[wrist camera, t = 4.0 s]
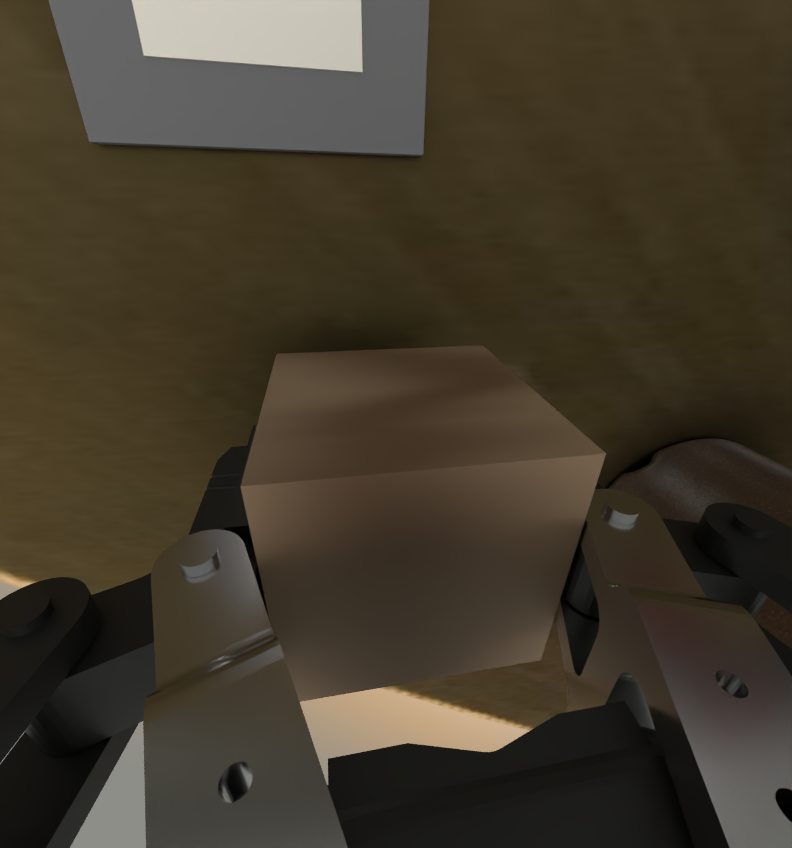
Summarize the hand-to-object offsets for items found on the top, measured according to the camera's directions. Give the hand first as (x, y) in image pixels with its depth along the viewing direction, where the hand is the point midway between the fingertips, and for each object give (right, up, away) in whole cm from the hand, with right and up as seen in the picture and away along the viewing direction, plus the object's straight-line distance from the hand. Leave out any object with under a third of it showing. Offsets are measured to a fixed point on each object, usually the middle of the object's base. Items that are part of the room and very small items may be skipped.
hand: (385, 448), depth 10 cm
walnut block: (0, 0, 0) cm, 1 cm away
